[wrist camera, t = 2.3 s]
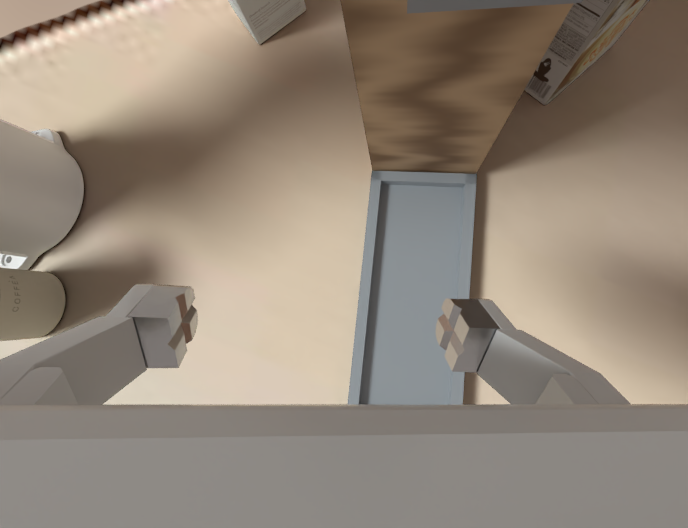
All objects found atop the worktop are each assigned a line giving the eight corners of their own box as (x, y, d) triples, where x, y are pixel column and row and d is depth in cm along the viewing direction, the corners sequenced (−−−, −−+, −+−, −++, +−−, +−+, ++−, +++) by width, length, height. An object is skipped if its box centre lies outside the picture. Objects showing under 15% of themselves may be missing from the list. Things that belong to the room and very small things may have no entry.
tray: (348, 413, 30) (345, 419, 28) (373, 177, 33) (372, 170, 31) (457, 433, 28) (460, 440, 27) (472, 180, 31) (476, 173, 30)
